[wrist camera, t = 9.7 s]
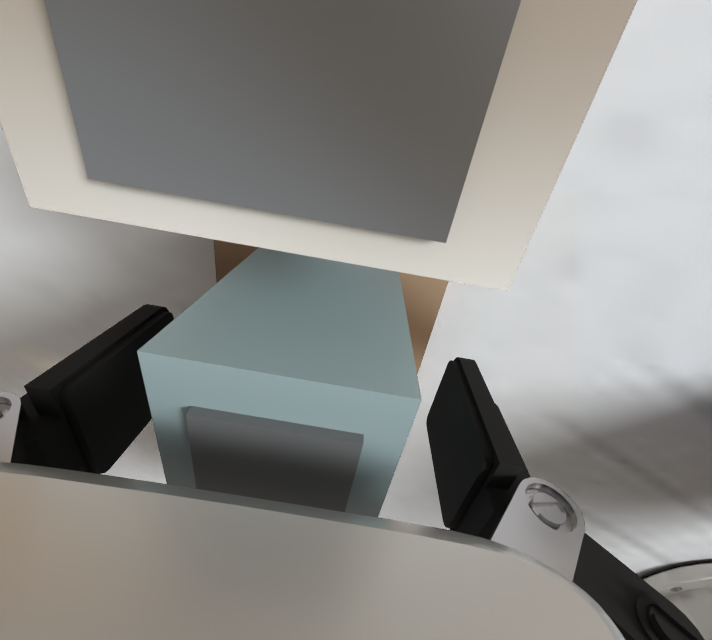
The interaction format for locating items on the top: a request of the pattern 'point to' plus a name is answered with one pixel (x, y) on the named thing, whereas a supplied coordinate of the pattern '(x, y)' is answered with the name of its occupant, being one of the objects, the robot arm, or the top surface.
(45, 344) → the top surface
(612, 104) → the top surface
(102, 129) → the rail board
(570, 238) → the top surface
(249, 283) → the block
